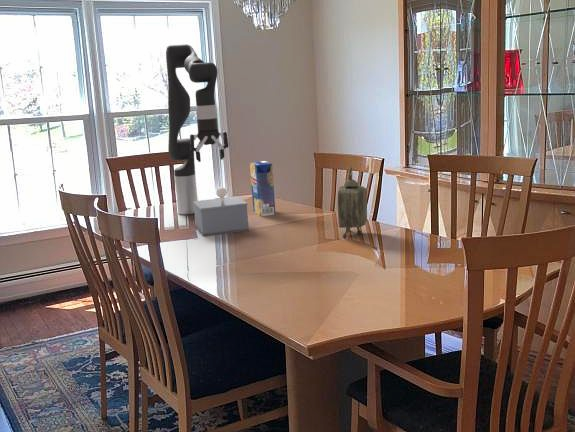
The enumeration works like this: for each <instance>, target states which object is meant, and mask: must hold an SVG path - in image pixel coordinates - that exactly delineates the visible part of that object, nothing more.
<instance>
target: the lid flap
mask: <svg viewBox="0 0 575 432" xmlns="http://www.w3.org/2000/svg"><path fill="white" fill-rule="evenodd" d="M227 193H228V192H227V189H226V188H225V187H223V186H221V187H220V186H219V187H218V188H217V189H216V192H215V194H216V195H217V197H218V198H211V199H201V200H198V201H193V204H194V205H195V206H196V207H197V208H198V209H199V210H200V211H203V210H211V209H219V208H228V207H236V206H244V205H247V206H248V202H246V200H244V199H242V198H241V197H239V196H238V195H236V196H230V197H226V196H227Z"/></svg>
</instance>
